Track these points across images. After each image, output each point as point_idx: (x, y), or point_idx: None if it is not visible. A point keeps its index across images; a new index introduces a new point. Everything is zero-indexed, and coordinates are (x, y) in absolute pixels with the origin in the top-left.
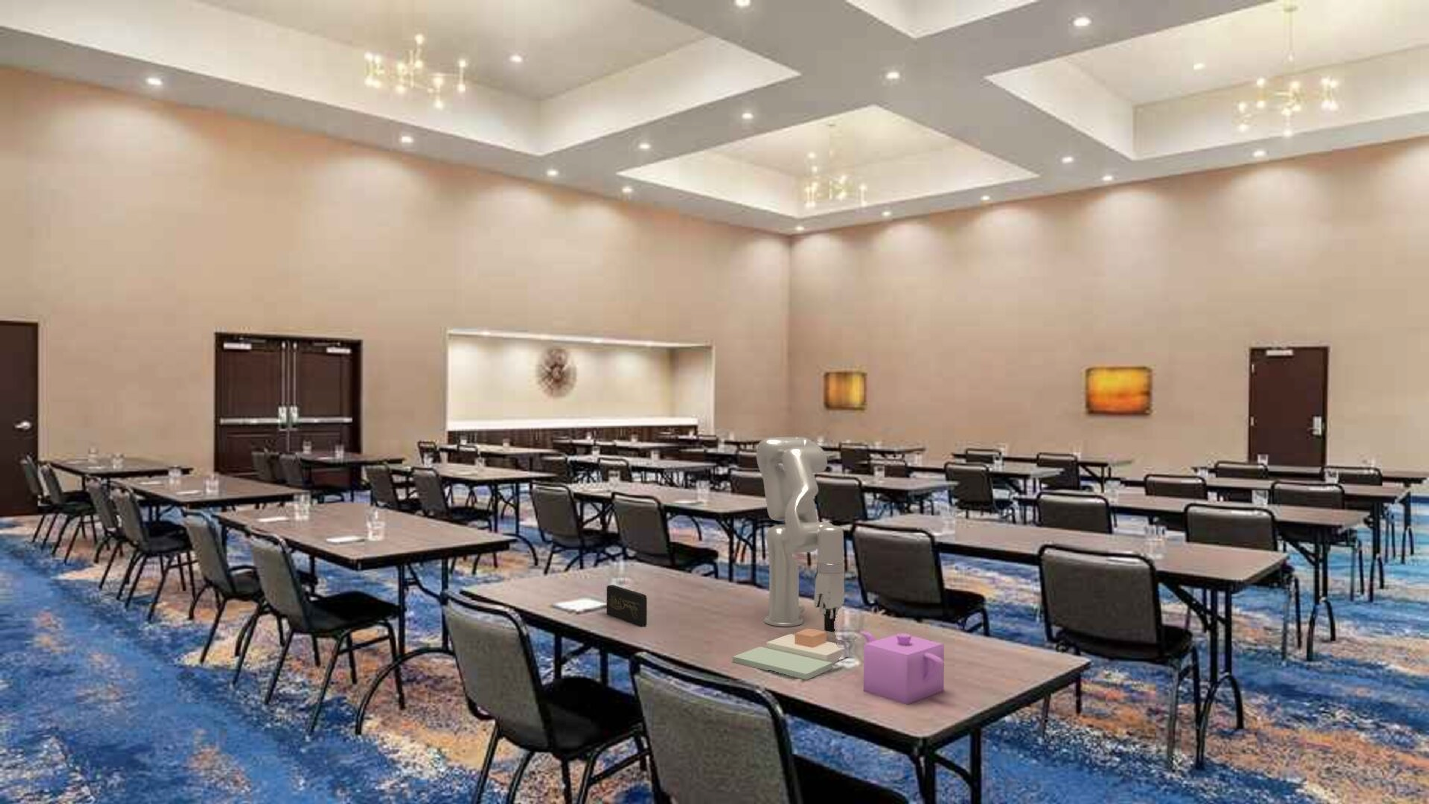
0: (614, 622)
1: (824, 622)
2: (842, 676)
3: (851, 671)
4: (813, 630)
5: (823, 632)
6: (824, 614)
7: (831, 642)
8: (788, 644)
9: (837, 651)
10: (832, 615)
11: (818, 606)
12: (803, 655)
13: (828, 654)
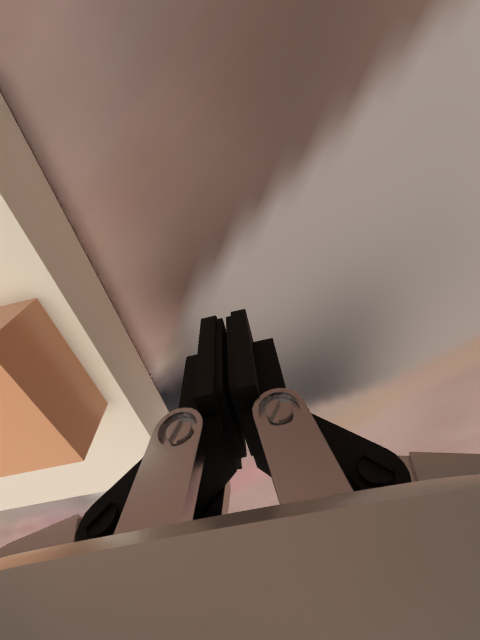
0: None
1: (197, 359)
2: (27, 524)
3: (81, 512)
4: (2, 406)
5: (54, 464)
6: (130, 489)
7: (135, 416)
8: None
9: (78, 493)
10: (219, 499)
11: (15, 574)
12: None
13: (10, 507)
